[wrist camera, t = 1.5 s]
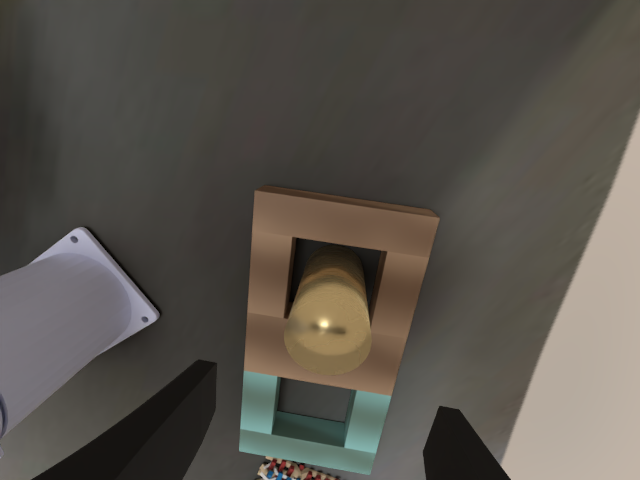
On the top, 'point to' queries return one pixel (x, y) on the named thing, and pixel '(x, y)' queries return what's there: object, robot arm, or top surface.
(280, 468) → the woven mat
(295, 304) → the brass pin
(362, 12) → the top surface
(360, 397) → the docking plate
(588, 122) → the top surface
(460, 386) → the top surface
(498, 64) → the top surface
